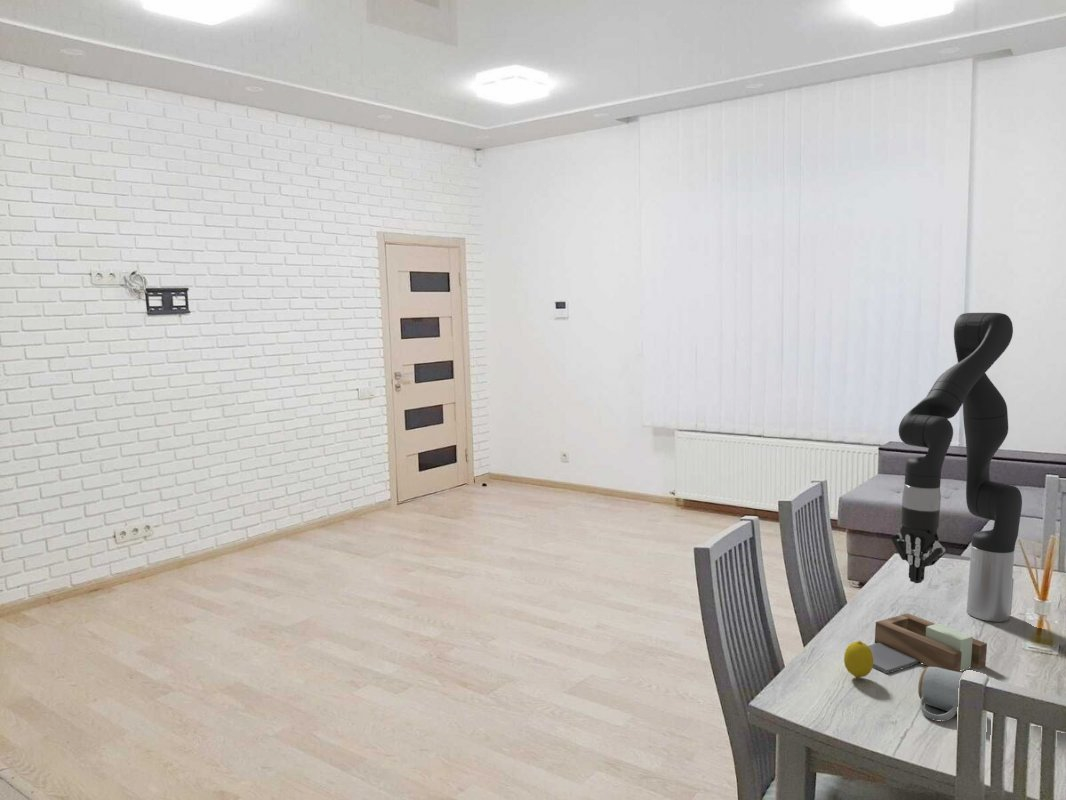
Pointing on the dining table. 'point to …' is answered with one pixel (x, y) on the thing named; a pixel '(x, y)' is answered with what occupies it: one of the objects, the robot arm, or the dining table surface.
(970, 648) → the sage block
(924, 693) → the ceramic mug
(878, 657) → the slate coaster
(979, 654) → the rail
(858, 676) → the lemon
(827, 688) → the dining table surface
